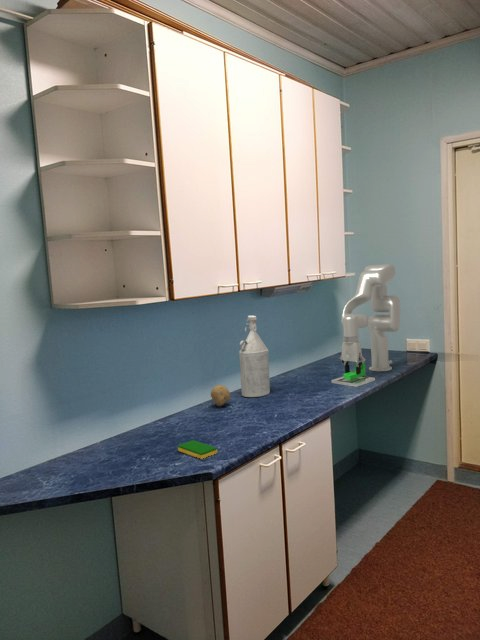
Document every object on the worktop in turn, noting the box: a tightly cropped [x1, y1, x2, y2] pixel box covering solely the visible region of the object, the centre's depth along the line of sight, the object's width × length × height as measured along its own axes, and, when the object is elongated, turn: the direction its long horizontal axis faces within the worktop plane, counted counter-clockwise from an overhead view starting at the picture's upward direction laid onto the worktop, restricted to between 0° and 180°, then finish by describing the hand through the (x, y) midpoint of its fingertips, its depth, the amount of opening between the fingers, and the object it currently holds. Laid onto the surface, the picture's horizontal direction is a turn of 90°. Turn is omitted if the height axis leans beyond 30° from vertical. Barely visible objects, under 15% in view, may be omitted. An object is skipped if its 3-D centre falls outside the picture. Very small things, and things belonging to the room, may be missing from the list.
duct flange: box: [331, 375, 376, 388], centre depth 267 cm, size 16×16×2 cm
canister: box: [238, 315, 271, 398], centre depth 253 cm, size 13×17×40 cm
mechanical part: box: [343, 360, 366, 380], centre depth 267 cm, size 12×6×8 cm, turn 127°
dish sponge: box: [177, 439, 218, 460], centre depth 179 cm, size 7×14×2 cm, turn 42°
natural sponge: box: [210, 384, 231, 407], centre depth 237 cm, size 9×9×10 cm
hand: (352, 372), depth 267 cm, fingers closed on mechanical part, 6 cm apart
